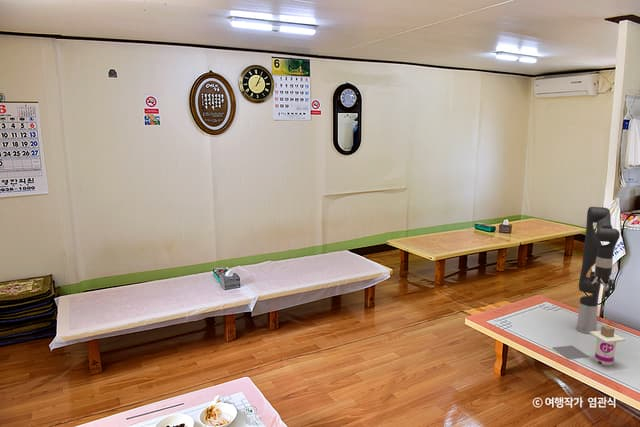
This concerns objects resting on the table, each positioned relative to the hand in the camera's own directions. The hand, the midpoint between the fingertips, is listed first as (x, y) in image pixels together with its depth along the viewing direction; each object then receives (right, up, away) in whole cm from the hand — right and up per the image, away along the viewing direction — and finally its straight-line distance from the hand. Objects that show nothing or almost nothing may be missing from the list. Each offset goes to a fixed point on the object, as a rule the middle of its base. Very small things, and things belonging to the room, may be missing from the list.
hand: (600, 293), depth 239 cm
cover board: (-2, -21, -9) cm, 23 cm away
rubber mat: (-14, -33, +4) cm, 36 cm away
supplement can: (-2, -35, -6) cm, 36 cm away
